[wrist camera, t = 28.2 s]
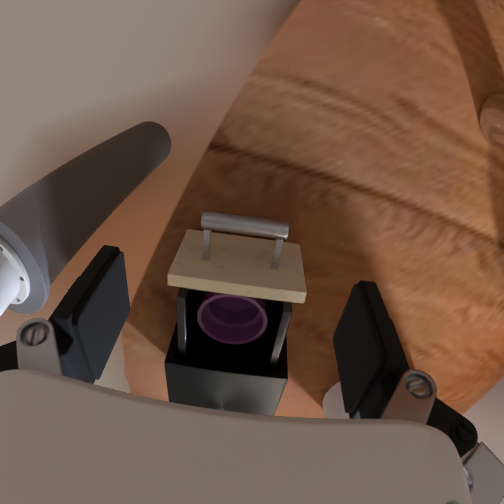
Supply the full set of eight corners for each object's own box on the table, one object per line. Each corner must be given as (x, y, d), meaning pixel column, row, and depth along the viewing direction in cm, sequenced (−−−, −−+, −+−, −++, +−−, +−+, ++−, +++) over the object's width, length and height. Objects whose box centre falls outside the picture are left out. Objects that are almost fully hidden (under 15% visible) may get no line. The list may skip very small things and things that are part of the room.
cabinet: (182, 301, 39) (164, 362, 30) (285, 315, 39) (287, 378, 31) (184, 370, 46) (172, 423, 38) (266, 381, 46) (265, 435, 38)
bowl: (203, 310, 36) (196, 339, 32) (206, 261, 33) (198, 288, 29) (262, 317, 37) (261, 347, 33) (272, 269, 33) (272, 298, 29)
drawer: (189, 186, 30) (166, 223, 23) (309, 202, 30) (320, 244, 23) (186, 321, 39) (172, 370, 32) (277, 333, 39) (277, 384, 33)
